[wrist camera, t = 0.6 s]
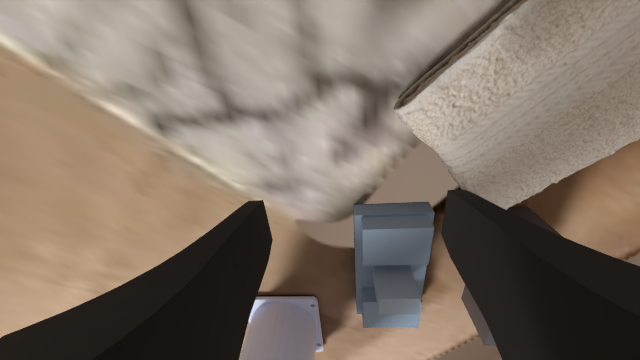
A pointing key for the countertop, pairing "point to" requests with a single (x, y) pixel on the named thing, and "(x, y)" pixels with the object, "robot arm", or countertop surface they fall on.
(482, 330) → the dark grey rectangular block
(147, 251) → the countertop surface
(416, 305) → the display stand
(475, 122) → the washcloth
